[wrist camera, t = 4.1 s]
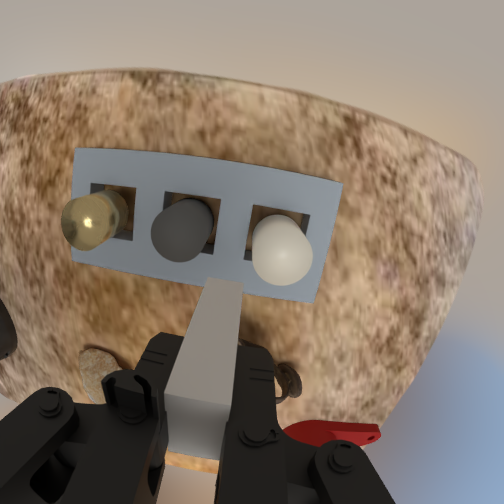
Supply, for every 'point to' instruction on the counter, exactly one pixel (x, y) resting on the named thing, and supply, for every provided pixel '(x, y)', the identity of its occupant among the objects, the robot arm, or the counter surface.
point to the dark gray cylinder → (182, 230)
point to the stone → (96, 371)
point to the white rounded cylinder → (280, 251)
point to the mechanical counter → (282, 376)
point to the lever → (333, 432)
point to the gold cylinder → (94, 219)
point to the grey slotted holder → (229, 222)
